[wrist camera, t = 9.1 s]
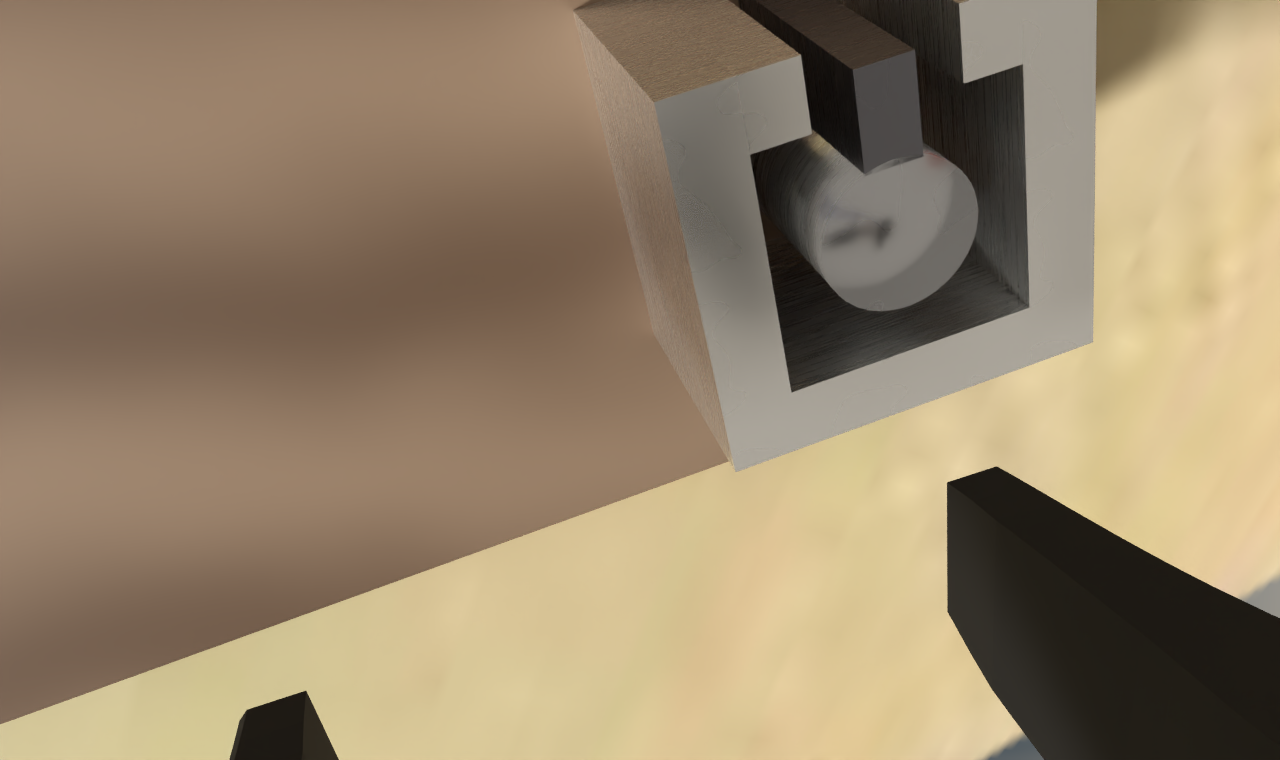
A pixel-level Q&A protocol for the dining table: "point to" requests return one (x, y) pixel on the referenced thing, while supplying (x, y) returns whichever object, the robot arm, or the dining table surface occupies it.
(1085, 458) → the dining table surface
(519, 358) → the base board
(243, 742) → the robot arm
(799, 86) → the grey slotted block
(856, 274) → the tabbed grey cylinder
